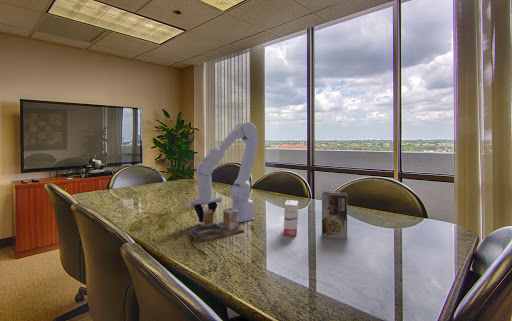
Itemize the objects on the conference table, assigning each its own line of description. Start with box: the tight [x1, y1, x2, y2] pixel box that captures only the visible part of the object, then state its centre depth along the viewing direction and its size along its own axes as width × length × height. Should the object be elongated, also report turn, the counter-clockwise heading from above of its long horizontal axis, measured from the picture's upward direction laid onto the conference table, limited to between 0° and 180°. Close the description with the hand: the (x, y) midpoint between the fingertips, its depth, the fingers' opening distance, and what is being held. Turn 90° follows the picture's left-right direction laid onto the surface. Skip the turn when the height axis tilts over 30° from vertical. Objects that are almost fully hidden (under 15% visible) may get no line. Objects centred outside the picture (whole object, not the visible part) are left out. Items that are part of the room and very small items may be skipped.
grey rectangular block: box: [198, 206, 214, 226], centre depth 116 cm, size 4×6×7 cm, turn 33°
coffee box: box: [321, 191, 348, 240], centre depth 101 cm, size 9×6×16 cm
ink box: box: [283, 199, 299, 237], centre depth 105 cm, size 9×5×12 cm, turn 168°
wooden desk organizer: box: [188, 207, 245, 243], centre depth 105 cm, size 19×11×8 cm, turn 123°
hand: (205, 220), depth 116 cm, fingers closed on grey rectangular block, 4 cm apart
